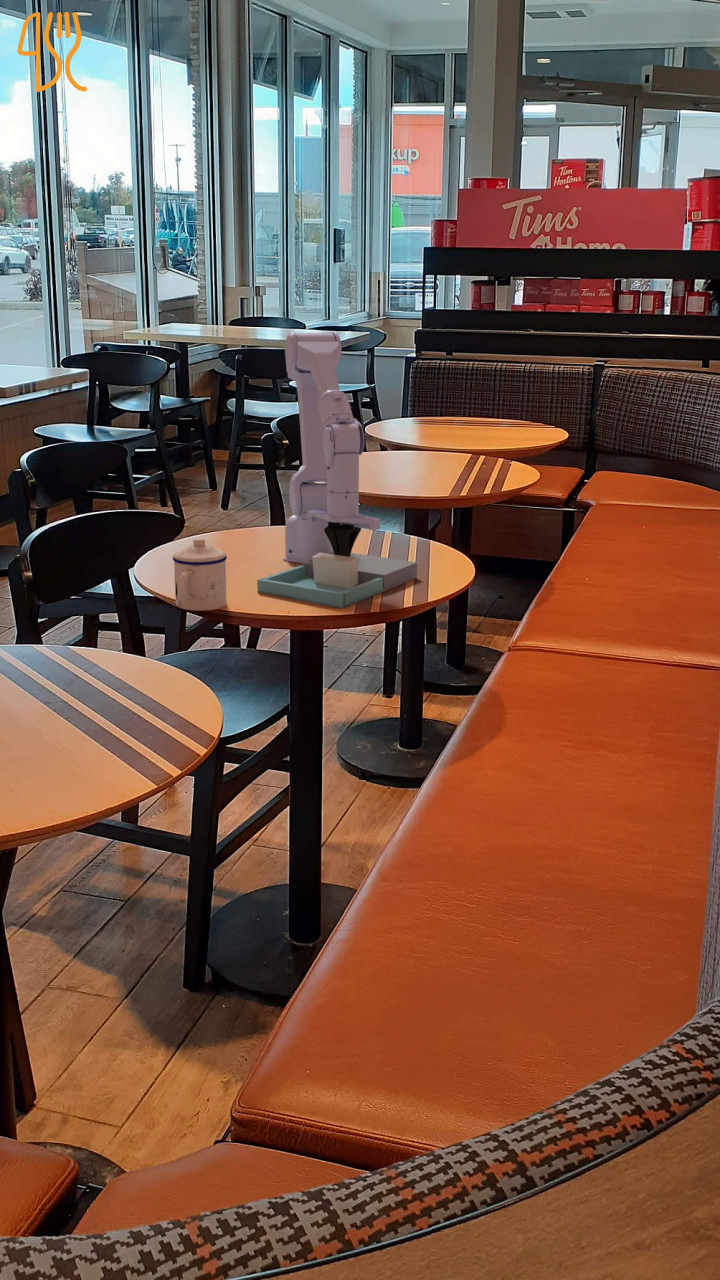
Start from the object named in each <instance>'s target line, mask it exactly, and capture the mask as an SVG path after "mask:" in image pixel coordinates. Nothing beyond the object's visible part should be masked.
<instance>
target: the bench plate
mask: <svg viewBox="0 0 720 1280" xmlns="http://www.w3.org/2000/svg"><path fill="white" fill-rule="evenodd" d="M329 554H333V555H334V552H332V553H329ZM350 557H353V558H357V571H358V584H359V585H360V584H363V583H366V582H368V581H371V580H373V579H376V578H383V589H384V592H386V591H388V590H391V589H394V588H396V587H398V586H400V585H403V584H405V583H408V582H410V581H414V580H416V579H417V578H418V562H417V561H415V562H414V561H408V560H403V559H396V558H389V557H382V556H375V555H368V554H362V553H355V552H351V554H350ZM301 564H302V566H305V576H311V577H314V571H313V560H312V559H311V560H308V561H305V562H302V563H301Z"/></svg>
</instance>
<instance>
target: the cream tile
mask: <svg viewBox="0 0 720 1280" xmlns="http://www.w3.org/2000/svg"><path fill="white" fill-rule="evenodd" d="M312 560H313V571H314V582H315V583H321V584H327V585H333V586H339V587H345V588H353V587H354V586H356V585H357V584H358V571H357V558H353V557H347V556H340V555H333V554H327V553H318V554H316V555H315V556H313V557H312Z"/></svg>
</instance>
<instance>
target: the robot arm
mask: <svg viewBox="0 0 720 1280" xmlns="http://www.w3.org/2000/svg"><path fill="white" fill-rule="evenodd" d="M284 346H285V347H284V354H285V366H286V367H285V369H286V373H287V378H288V379H290V380H292V381H294V382H295V385H296V392H297V399H298V400H297V401H298V415H299V426H300V427H299V428H300V429H299V431H300V444H301V457H302V458H301V459H302V467H301V468H300V469H299V470H298V471H296V472H295V473H294V474H292V476H291V478H290V481H289V494H288V497H289V498H288V499H289V500H288V501H289V503H288V504H289V508H290V511H291V513H292V515H291V516H290V517H289V518H288V519H287V521H286V524H285V530H284V533H285V534H284V535H285V539H284V540H285V541H284V542H285V544H284V545H285V548H284V549H285V556H284V557H283V561H284V562H285V561H286V562H292V563H297V564H302V562H305V561H308V560H311V559H312V557H313V556H315V555H316V554H318V553H327V554H329V553H332V552H334V555H340V556H347V557H350V554H351V553H352V550H353V547H354V545H355V542H356V541H357V538H358V536H359V534H360V533H361V531H362V529H365V530H366V529H368V530H369V531H377V530H380V521H381V520H380V519H381V518H379V517H372V516H370V515H365V514H361V513H359V509H360V508H359V505H360V504H359V499H360V498H359V497H360V493H359V489H360V488H359V487H360V456H361V455H362V454H363V453H364V448H365V435H364V429H363V425H362V424H361V422H360V421H358V418H354V416H353V412H352V409H351V404H350V402H349V398H348V396H347V394H346V393H345V392H343V391H341V390H340V386H339V379H338V373H337V368H339V363H340V360H341V358H342V342H341V338H340V336H339V334H338V333H337V332H336V331H332V332H294V331H290V332H289V333H288V335H287V336H286V339H285V345H284ZM317 482H318V483H317Z"/></svg>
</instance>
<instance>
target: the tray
mask: <svg viewBox="0 0 720 1280" xmlns="http://www.w3.org/2000/svg"><path fill="white" fill-rule="evenodd" d="M256 582H257V583H256V584H257V593H261V594H266V595H272V596H275V597H280V598H286V599H290V600H296V601H300V602H306V603H310V604H314V603H316V604H315V605H320V604H321V606H326V605H327V607H331V606H332V608H337V607H339V608H338V609H344V608H346V607H345V606H347V607H349V606H352V605H354V604H356V603H359V602H362V601H364V600H366V599H369V598H371V597H374V596H376V595H379V594H381V593H384V592H385V591H384V589H383V578H376V579H373V580H371V581H368V582H366V583H363V584H360V585H359V584H357V585H356V586H354V587H353V588H345V587H339V586H333V585H327V584H321V583H315V582H314V577H311V576H305V566H302V565H297V566H295V567H291V568H289V569H288V568H287V569H286V570H283V571H280V572H276V573H273V574H271V575H268V576H265V577H261V578H258V579H257V581H256ZM351 604H352V605H351ZM348 605H349V606H348ZM343 607H344V608H343Z"/></svg>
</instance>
